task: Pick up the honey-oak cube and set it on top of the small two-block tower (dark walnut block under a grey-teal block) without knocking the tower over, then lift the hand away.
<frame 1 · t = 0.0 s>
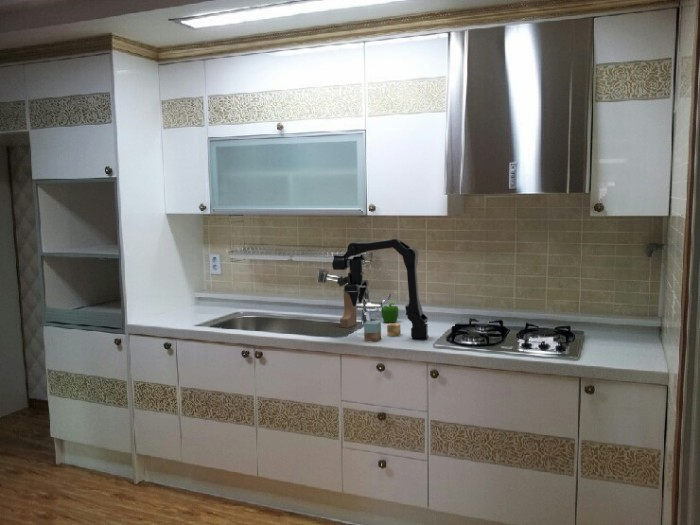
hand: (357, 304, 280), 15 cm above the worktop, fingers open, 9 cm apart
bell pepper: (390, 322, 312), on the worktop
oak cube: (394, 335, 281), on the worktop
base block: (372, 340, 273), on the worktop, touching top block
wooden block: (348, 326, 306), on the worktop
top block: (372, 331, 273), point 4 cm above the worktop, touching base block
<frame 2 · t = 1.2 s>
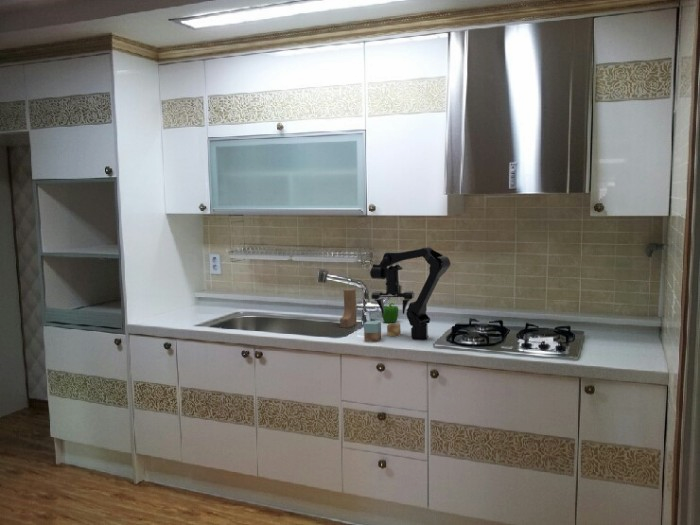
hand: (393, 314, 280), 10 cm above the worktop, fingers open, 9 cm apart
base block: (372, 340, 273), on the worktop
top block: (372, 331, 273), point 4 cm above the worktop
everything else where it was.
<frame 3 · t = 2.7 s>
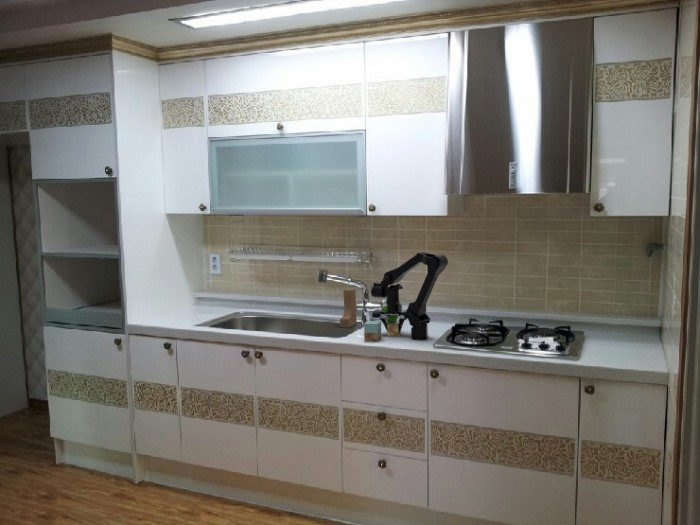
hand: (394, 332, 281), 1 cm above the worktop, fingers closed on oak cube, 5 cm apart
oak cube: (394, 335, 281), on the worktop, touching gripper
everything else where it was.
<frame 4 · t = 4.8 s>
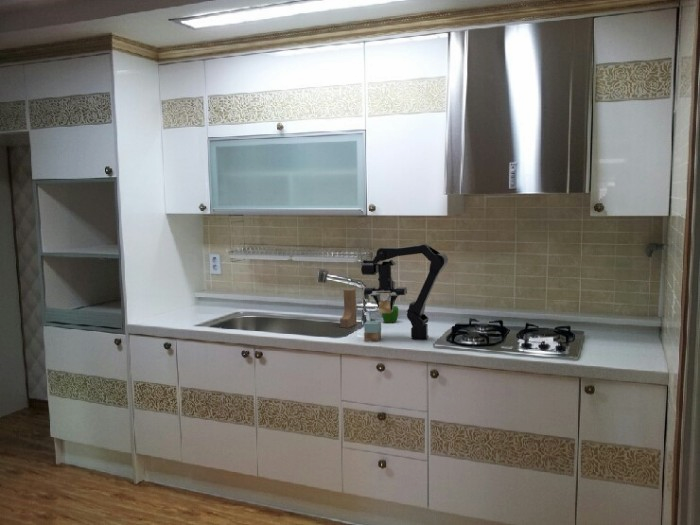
hand: (385, 309, 278), 12 cm above the worktop, fingers closed on oak cube, 5 cm apart
oak cube: (386, 312, 278), point 11 cm above the worktop, touching gripper
base block: (372, 340, 273), on the worktop, touching top block
top block: (373, 331, 273), point 4 cm above the worktop, touching base block
everything else where it was.
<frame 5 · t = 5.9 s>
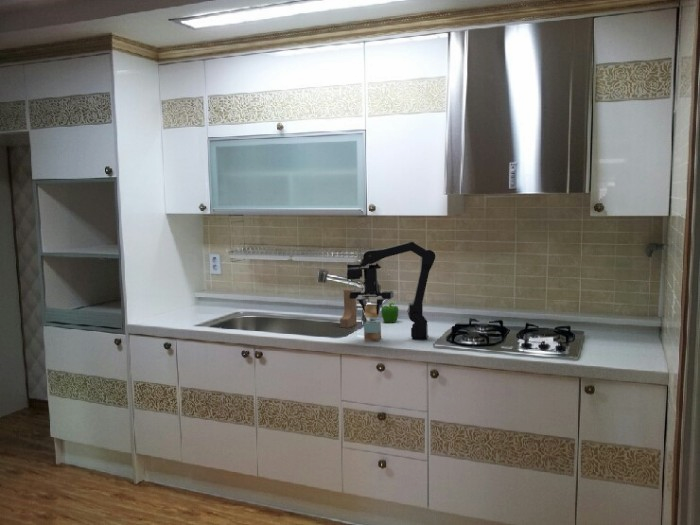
hand: (372, 314, 272), 11 cm above the worktop, fingers closed on oak cube, 5 cm apart
oak cube: (372, 316, 272), point 10 cm above the worktop, touching gripper
everything else where it was.
when the fingers open (10 cm above the worktop, at t = 6.5 s): oak cube drops 1 cm, resting on top block.
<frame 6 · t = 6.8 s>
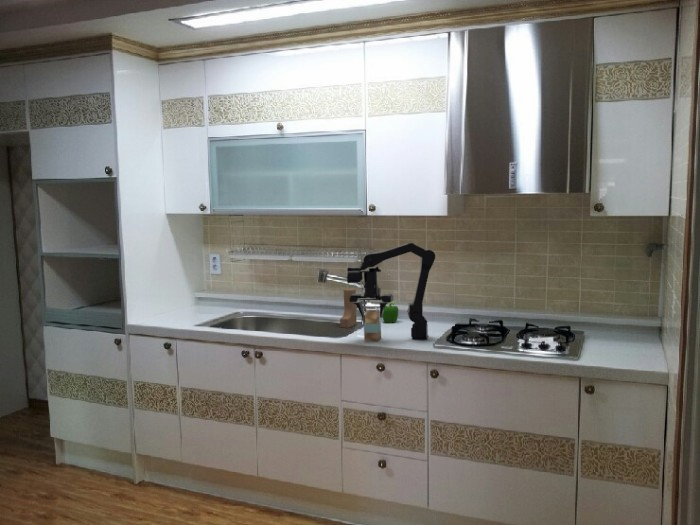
hand: (372, 317, 272), 10 cm above the worktop, fingers open, 8 cm apart
oak cube: (372, 322, 272), point 8 cm above the worktop, touching top block
top block: (372, 331, 273), point 4 cm above the worktop, touching base block, oak cube
everything else where it was.
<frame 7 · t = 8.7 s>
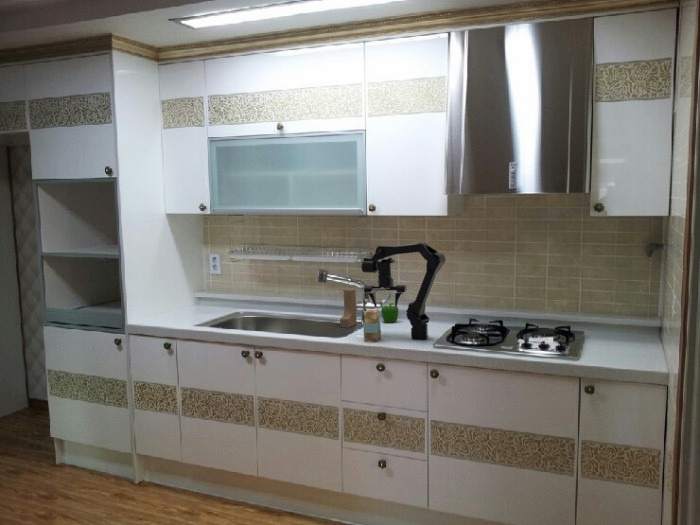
hand: (385, 307, 279), 13 cm above the worktop, fingers open, 9 cm apart
nothing on the worktop moved.
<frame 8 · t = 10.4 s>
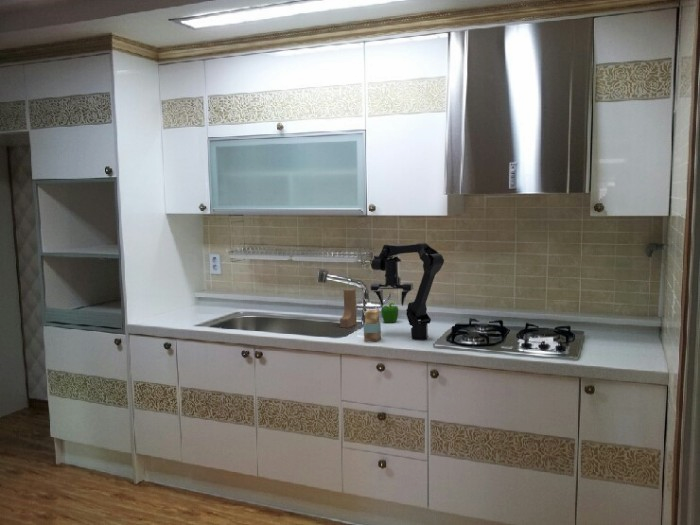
hand: (392, 305, 283), 13 cm above the worktop, fingers open, 9 cm apart
base block: (372, 340, 273), on the worktop
top block: (372, 331, 273), point 4 cm above the worktop, touching oak cube
everything else where it was.
at the end: oak cube 0.4 cm off-centre on the top block, point 4.0 cm above the top block's base; oak cube tilted 0°; top block 0.0 cm off-centre on the base block, point 4.0 cm above the base block's base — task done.
